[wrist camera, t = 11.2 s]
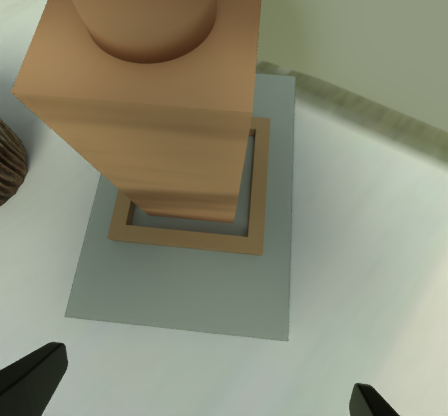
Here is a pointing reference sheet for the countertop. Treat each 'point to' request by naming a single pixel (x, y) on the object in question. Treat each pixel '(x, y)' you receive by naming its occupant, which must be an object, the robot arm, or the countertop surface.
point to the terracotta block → (150, 95)
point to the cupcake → (10, 163)
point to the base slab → (201, 245)
